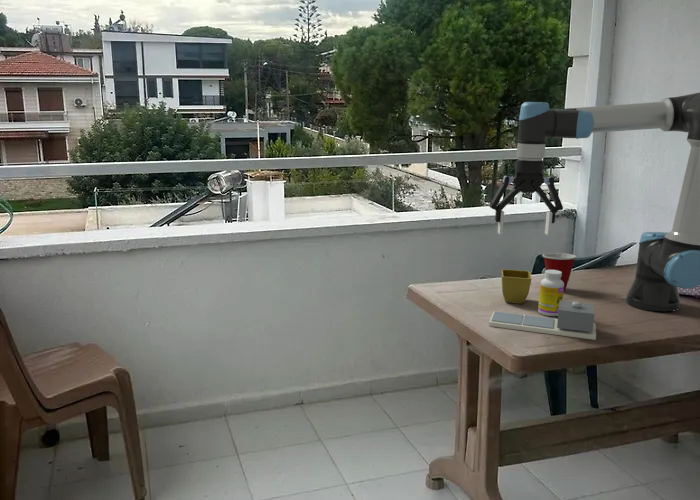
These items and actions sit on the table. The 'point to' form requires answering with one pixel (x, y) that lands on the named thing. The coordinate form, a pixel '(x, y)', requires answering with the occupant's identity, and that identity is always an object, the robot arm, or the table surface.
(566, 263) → the plastic cup
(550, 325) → the board
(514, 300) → the flower pot
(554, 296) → the supplement bottle
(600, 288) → the table surface
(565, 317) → the cover
